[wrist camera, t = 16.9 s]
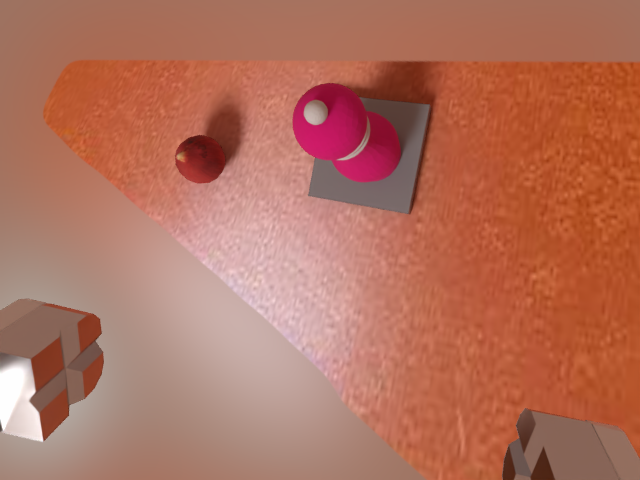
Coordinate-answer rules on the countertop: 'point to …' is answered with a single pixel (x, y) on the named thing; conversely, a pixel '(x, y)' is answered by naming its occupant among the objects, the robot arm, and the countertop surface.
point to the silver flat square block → (402, 182)
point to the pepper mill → (346, 133)
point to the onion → (200, 159)
